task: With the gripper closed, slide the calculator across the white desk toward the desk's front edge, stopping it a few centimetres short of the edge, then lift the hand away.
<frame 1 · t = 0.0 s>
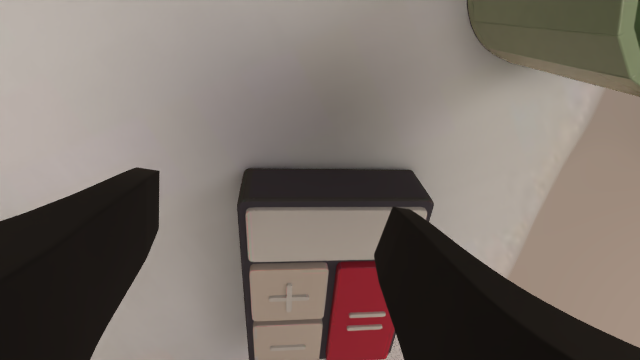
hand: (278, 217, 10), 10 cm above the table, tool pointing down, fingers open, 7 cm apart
calculator: (323, 256, 25), on the table
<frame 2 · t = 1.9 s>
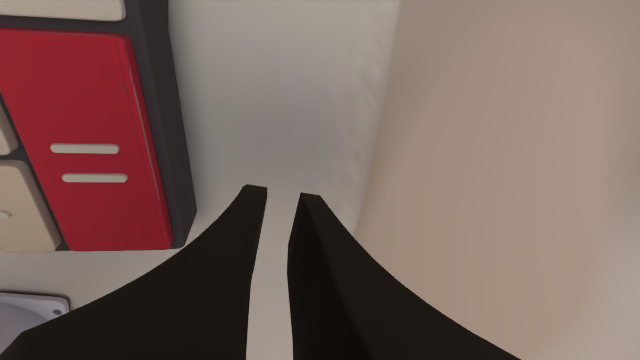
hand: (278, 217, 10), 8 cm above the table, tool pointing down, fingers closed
calculator: (63, 85, 16), on the table
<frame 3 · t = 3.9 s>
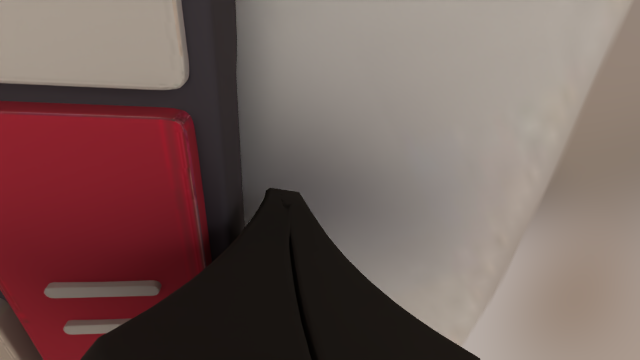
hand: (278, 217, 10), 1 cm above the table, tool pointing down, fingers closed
calculator: (65, 157, 10), on the table, touching gripper
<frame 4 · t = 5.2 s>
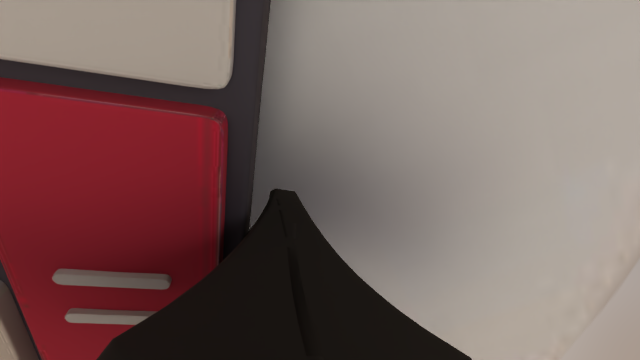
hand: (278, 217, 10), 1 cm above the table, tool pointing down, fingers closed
calculator: (76, 141, 10), on the table, touching gripper
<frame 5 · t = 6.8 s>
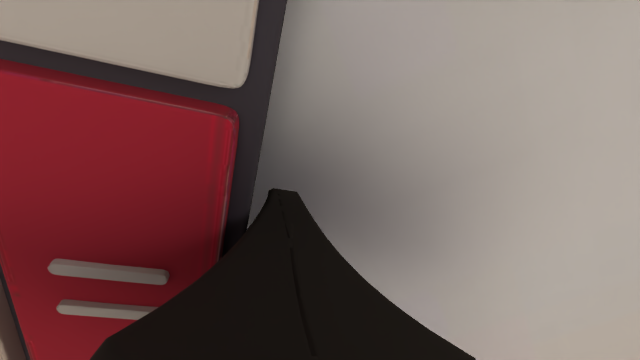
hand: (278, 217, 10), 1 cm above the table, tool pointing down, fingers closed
calculator: (76, 129, 10), on the table, touching gripper
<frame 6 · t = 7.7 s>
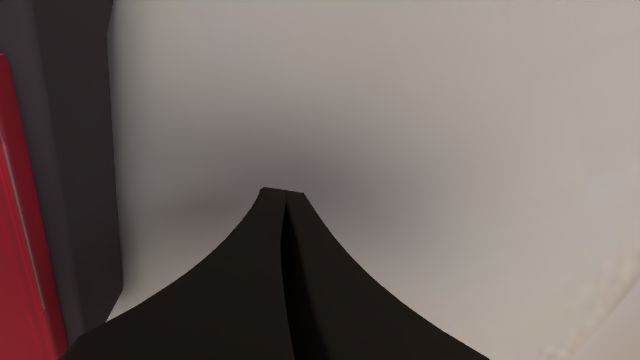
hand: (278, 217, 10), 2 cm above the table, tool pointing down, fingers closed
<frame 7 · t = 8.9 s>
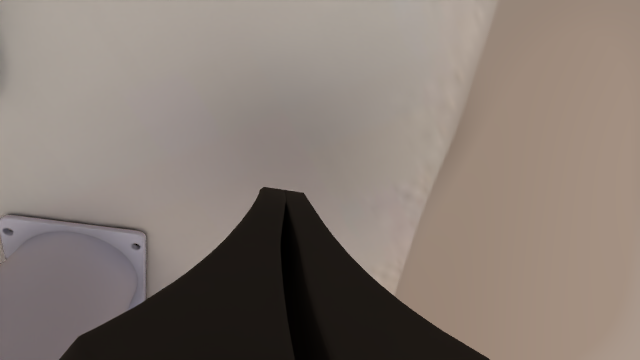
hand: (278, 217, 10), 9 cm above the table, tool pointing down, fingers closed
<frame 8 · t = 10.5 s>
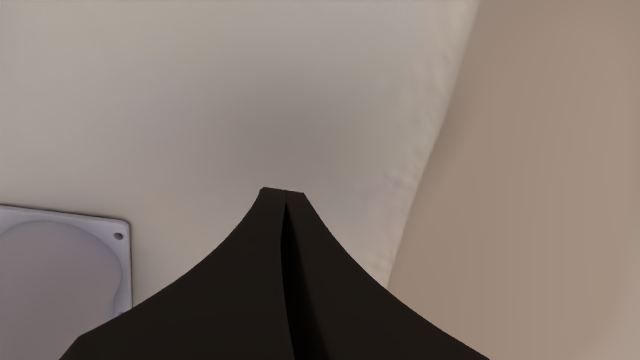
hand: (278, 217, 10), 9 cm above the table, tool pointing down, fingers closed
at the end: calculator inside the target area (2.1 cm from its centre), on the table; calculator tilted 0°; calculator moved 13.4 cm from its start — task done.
